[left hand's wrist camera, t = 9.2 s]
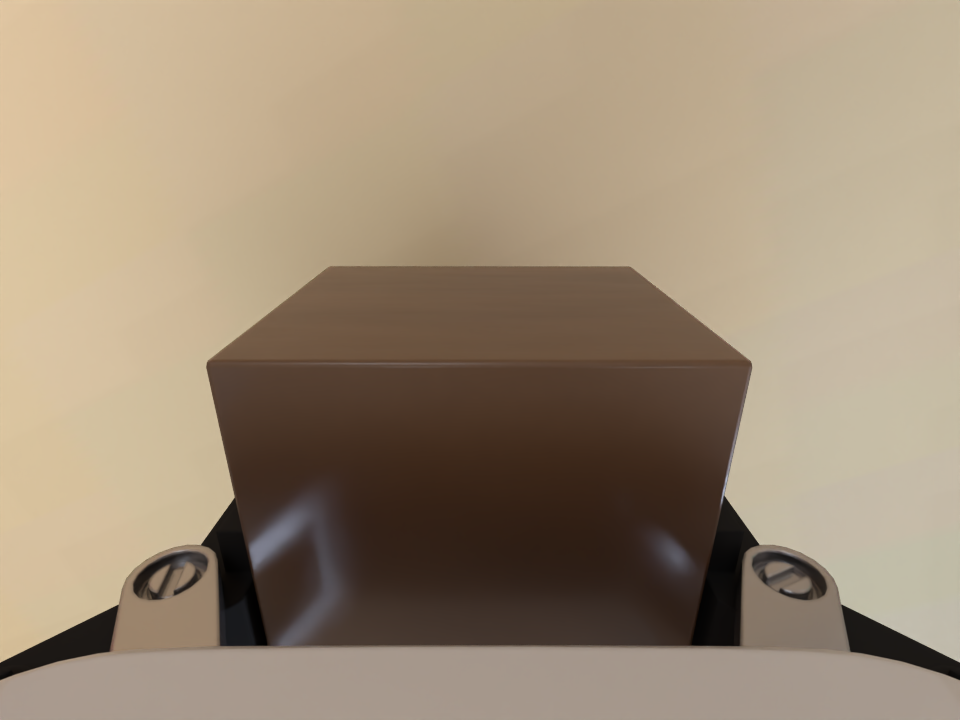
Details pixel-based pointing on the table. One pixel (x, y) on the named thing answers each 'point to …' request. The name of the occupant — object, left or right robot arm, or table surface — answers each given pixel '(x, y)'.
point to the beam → (479, 457)
